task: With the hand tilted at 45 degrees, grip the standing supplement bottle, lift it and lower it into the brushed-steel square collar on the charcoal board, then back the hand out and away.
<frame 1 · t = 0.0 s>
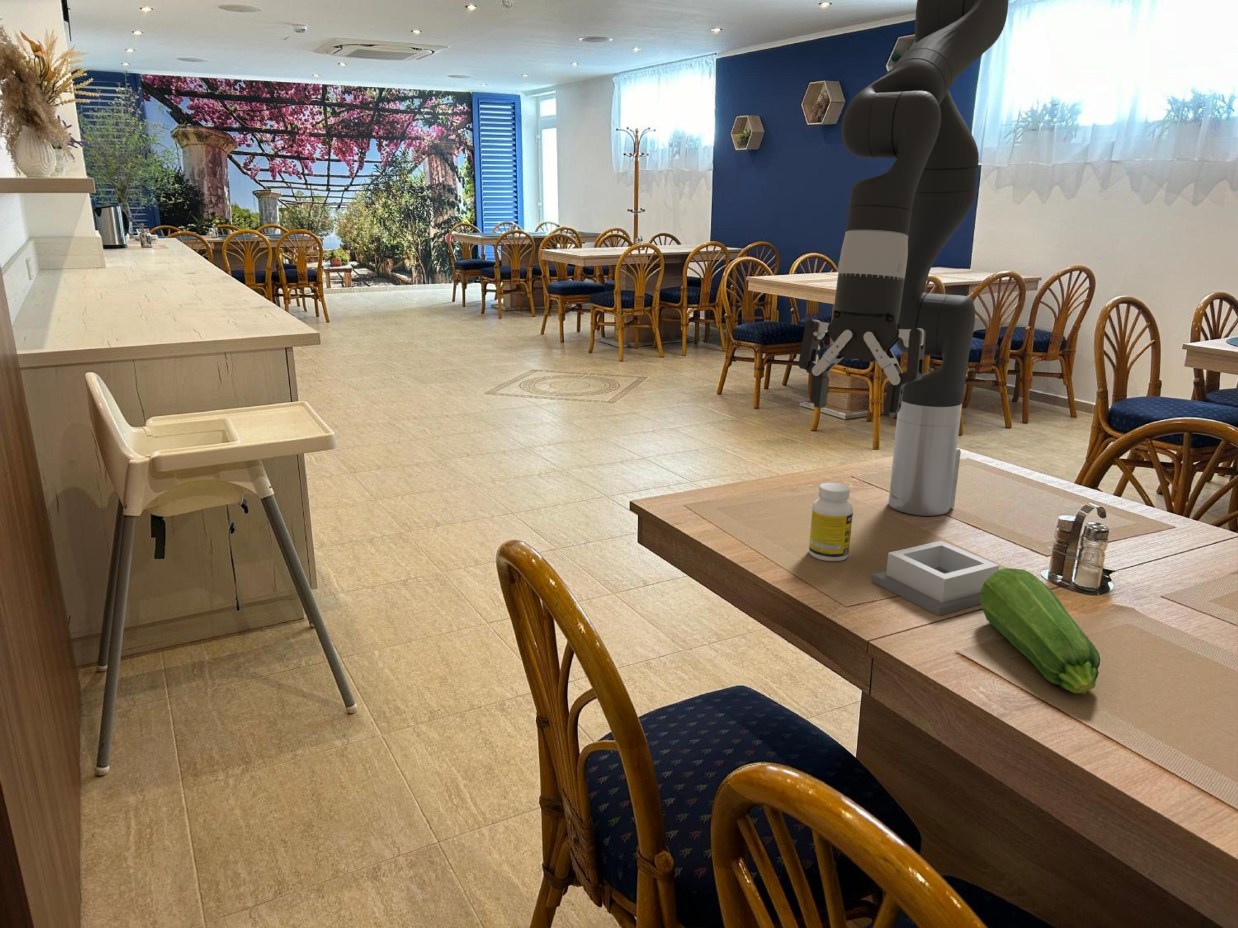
hand: (853, 412, 107), 22 cm above the table, tool pointing down, fingers open, 8 cm apart
supplement bottle: (828, 556, 123), on the table
vegetable: (1037, 658, 96), on the table
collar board: (939, 588, 113), on the table
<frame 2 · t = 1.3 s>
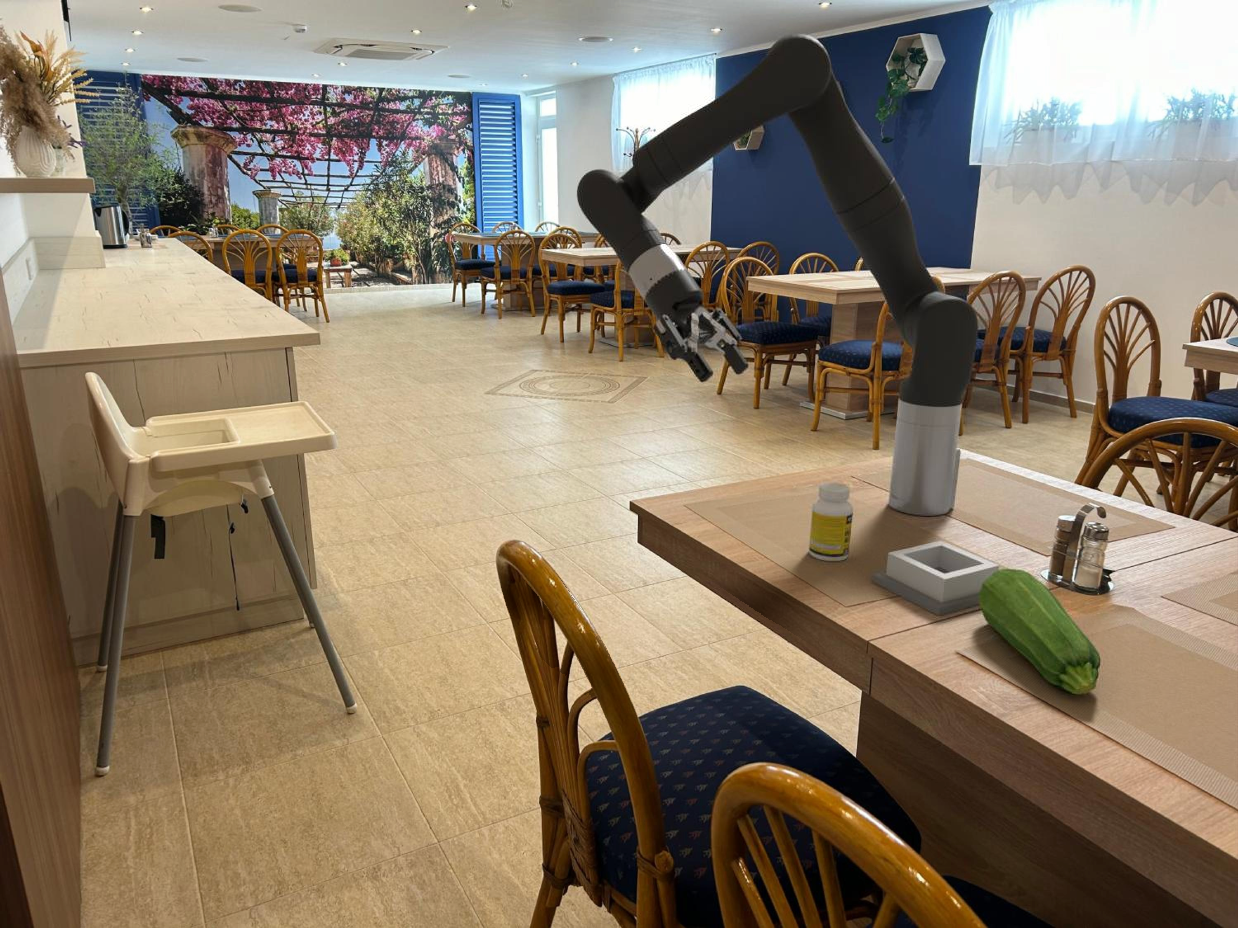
hand: (726, 374, 126), 23 cm above the table, tool tilted 45°, fingers open, 8 cm apart
nothing on the table moved.
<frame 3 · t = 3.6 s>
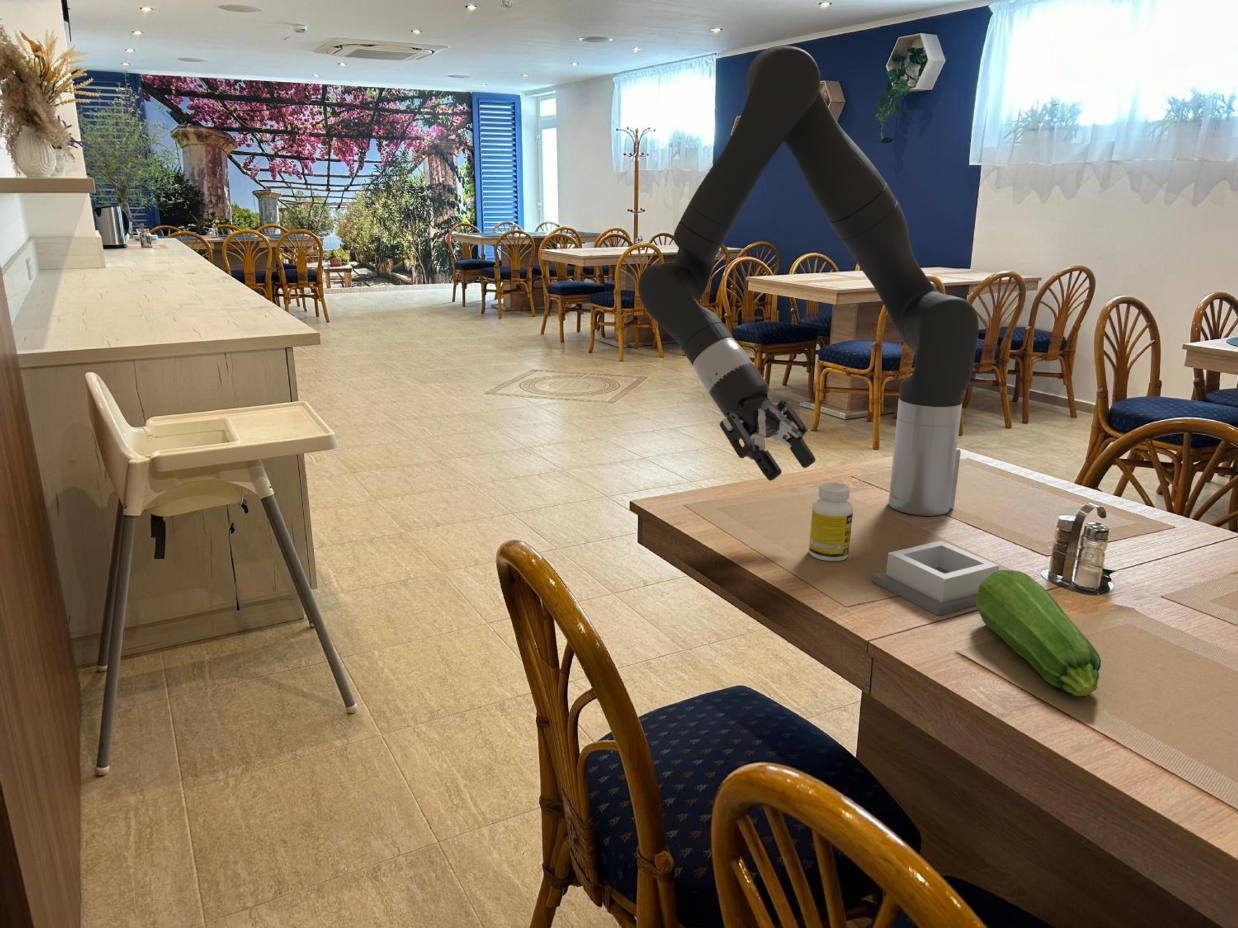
hand: (793, 470, 124), 11 cm above the table, tool tilted 45°, fingers open, 8 cm apart
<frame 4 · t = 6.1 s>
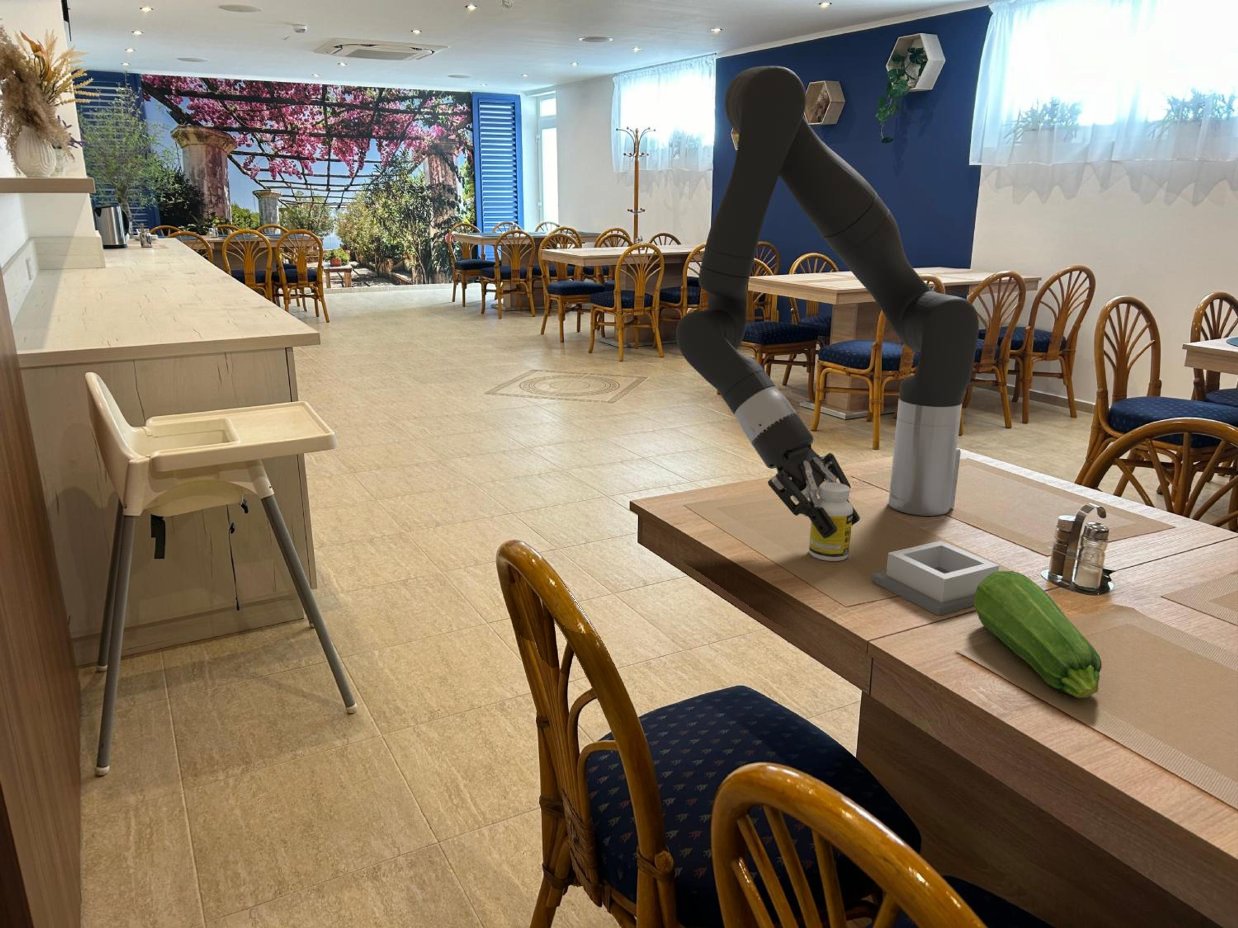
hand: (842, 528, 121), 4 cm above the table, tool tilted 45°, fingers closed on supplement bottle, 5 cm apart
supplement bottle: (828, 555, 123), on the table, touching gripper
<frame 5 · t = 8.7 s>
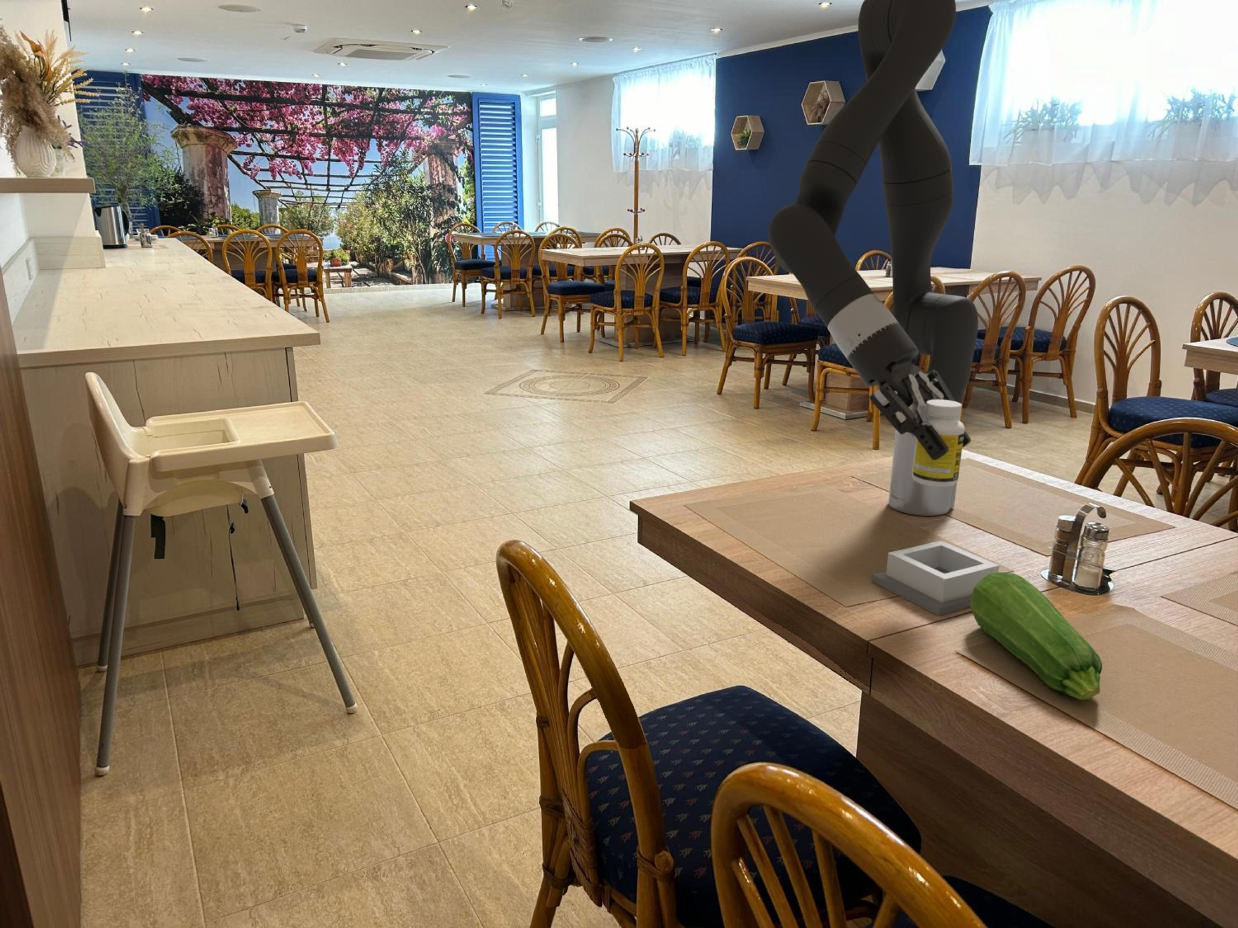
hand: (953, 450, 108), 18 cm above the table, tool tilted 45°, fingers closed on supplement bottle, 5 cm apart
supplement bottle: (934, 482, 110), point 13 cm above the table, touching gripper
when the fingers open (7 cm above the table, at t = 11.6 s): supplement bottle drops 1 cm, resting on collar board.
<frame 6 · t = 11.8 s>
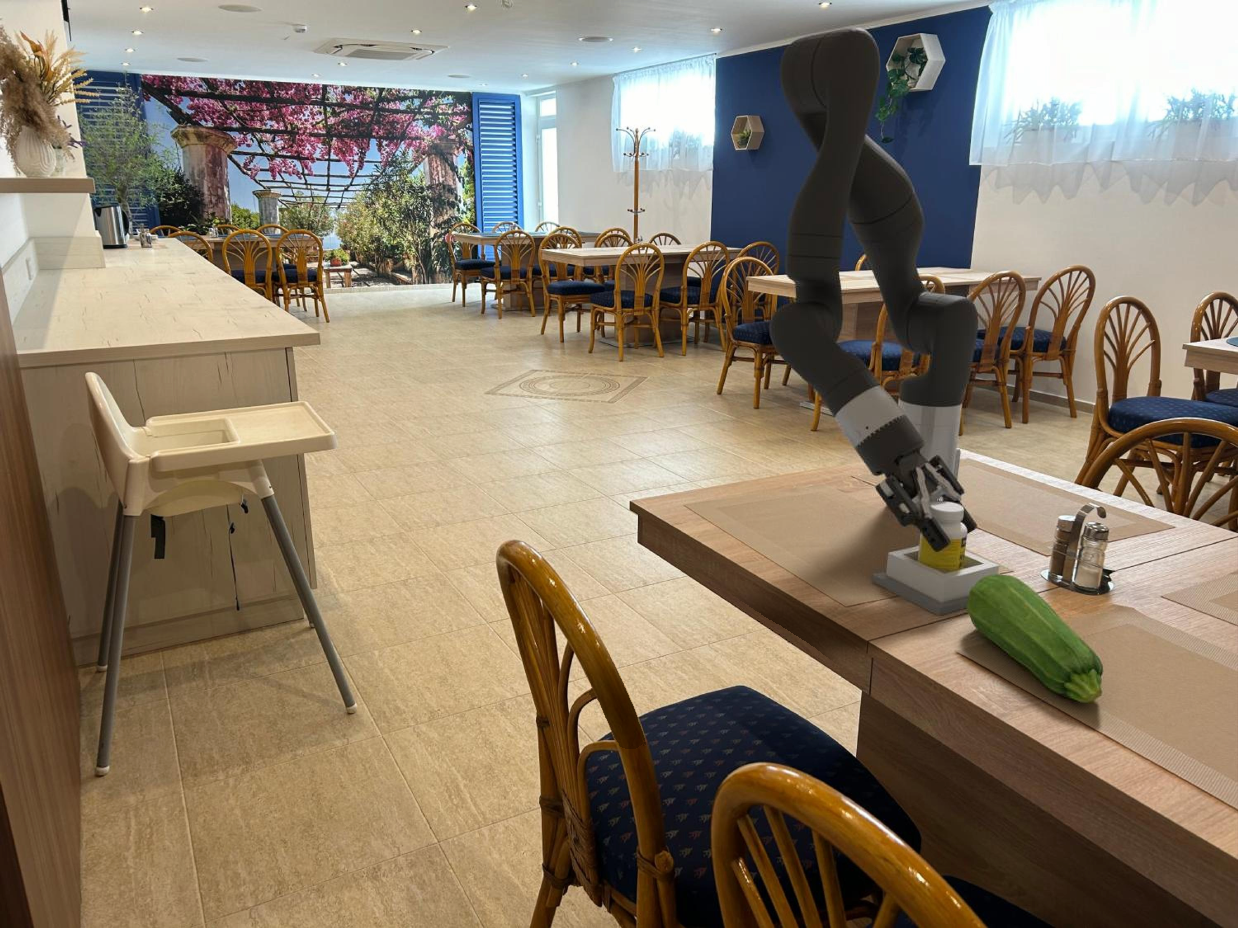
hand: (957, 539, 110), 7 cm above the table, tool tilted 45°, fingers open, 7 cm apart
supplement bottle: (938, 581, 113), point 1 cm above the table, touching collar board
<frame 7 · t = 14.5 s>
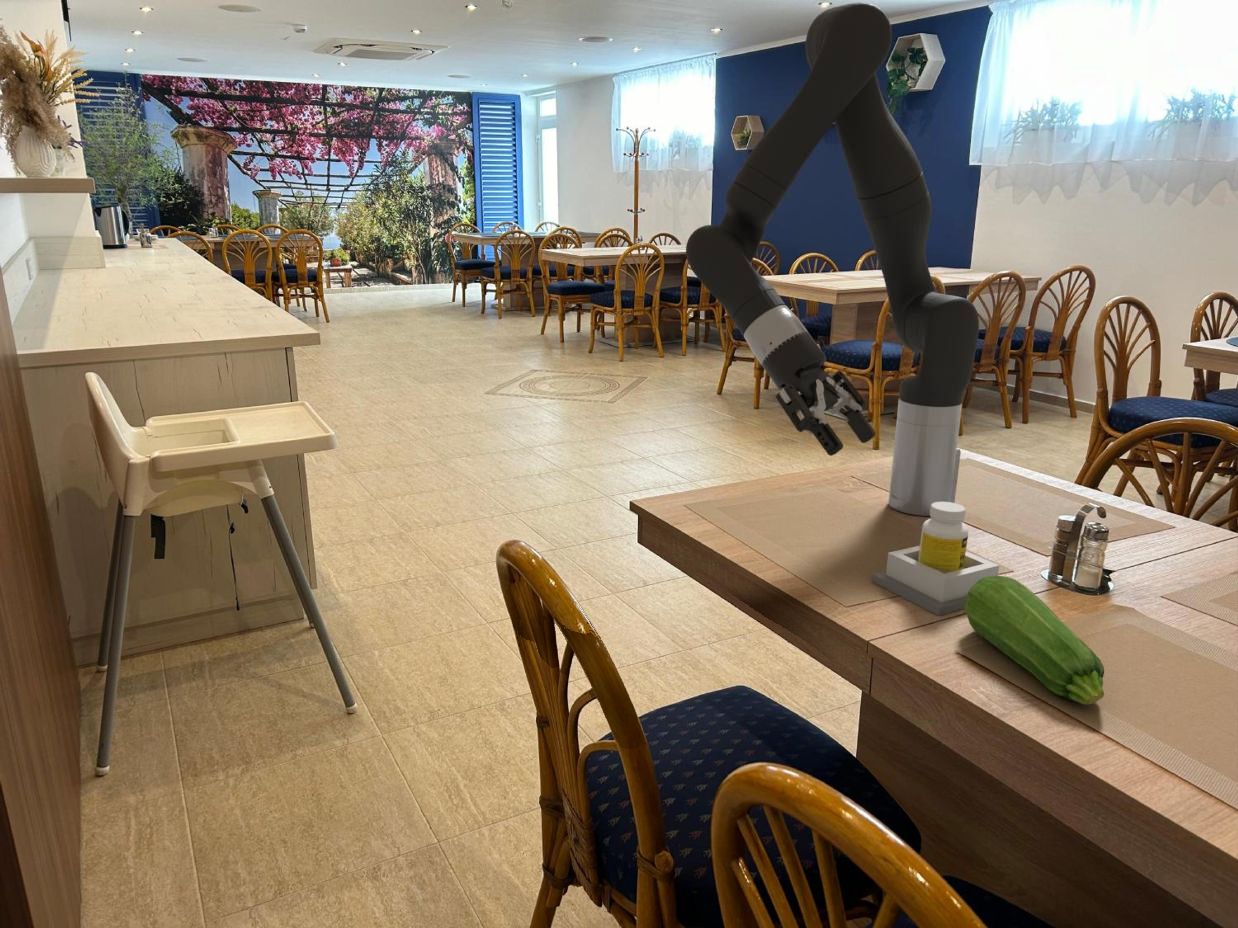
hand: (854, 445, 117), 16 cm above the table, tool tilted 45°, fingers open, 8 cm apart
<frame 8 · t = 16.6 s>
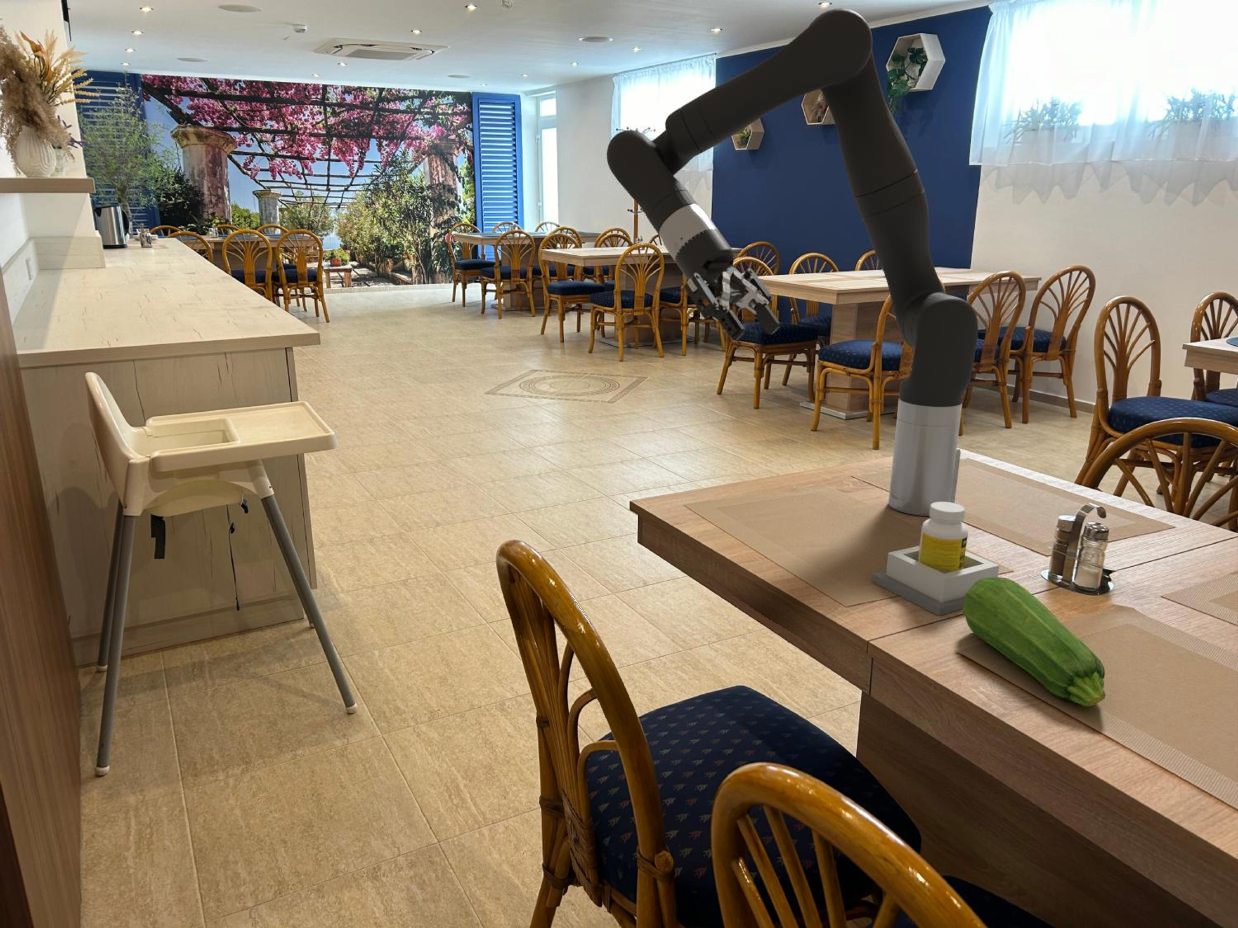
hand: (758, 333, 125), 29 cm above the table, tool tilted 45°, fingers open, 8 cm apart
at the end: supplement bottle 0.2 cm off-centre on the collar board, point 0.8 cm above the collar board's base; supplement bottle tilted 0°; the gripper is holding nothing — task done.
